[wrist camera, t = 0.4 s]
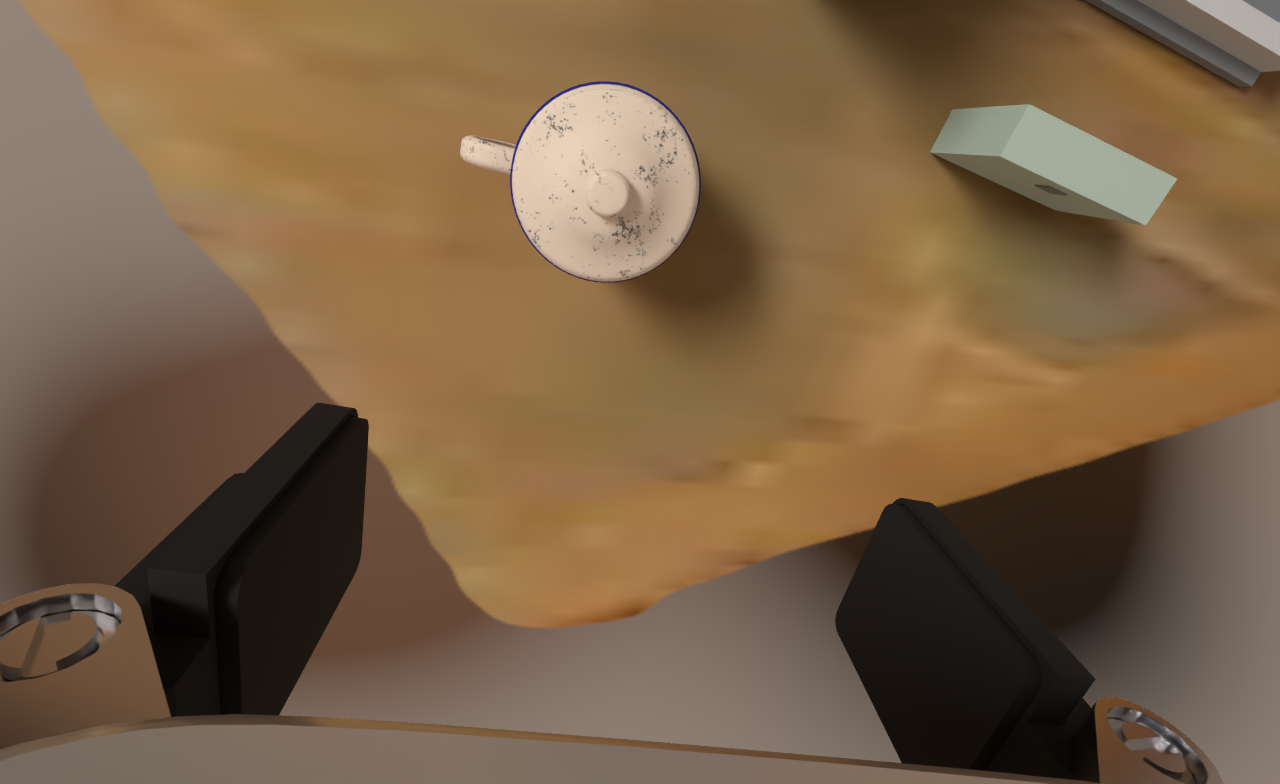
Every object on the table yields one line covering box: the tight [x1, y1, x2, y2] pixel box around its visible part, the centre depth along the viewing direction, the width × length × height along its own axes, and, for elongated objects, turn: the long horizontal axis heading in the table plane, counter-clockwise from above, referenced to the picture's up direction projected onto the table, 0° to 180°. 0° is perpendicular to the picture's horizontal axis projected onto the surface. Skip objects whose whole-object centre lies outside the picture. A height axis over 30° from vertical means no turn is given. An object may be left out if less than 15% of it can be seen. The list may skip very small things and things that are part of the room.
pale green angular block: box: [930, 104, 1177, 226], centre depth 34 cm, size 3×10×7 cm, turn 69°
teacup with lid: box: [460, 82, 701, 282], centre depth 30 cm, size 12×9×12 cm
